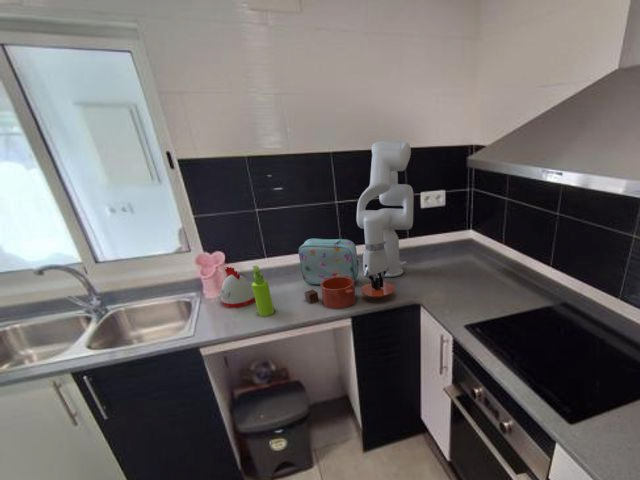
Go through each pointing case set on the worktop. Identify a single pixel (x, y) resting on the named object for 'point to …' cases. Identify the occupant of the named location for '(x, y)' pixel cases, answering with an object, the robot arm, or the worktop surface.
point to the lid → (380, 291)
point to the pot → (338, 292)
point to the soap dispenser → (262, 294)
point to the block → (311, 296)
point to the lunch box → (328, 259)
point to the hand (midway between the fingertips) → (377, 287)
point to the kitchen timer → (236, 290)
